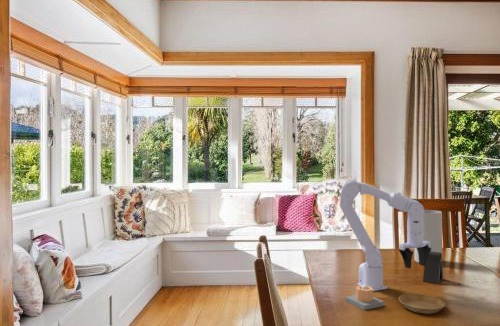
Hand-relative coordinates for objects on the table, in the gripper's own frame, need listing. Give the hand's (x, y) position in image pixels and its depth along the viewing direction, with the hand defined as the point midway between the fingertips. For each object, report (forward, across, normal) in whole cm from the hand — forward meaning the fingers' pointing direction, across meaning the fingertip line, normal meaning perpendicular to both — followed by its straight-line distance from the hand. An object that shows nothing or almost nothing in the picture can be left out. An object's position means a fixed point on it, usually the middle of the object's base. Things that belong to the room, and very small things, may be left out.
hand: (415, 266), depth 158 cm
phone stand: (+10, +17, +6) cm, 20 cm away
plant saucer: (+10, -12, -14) cm, 21 cm away
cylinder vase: (+10, +39, +28) cm, 49 cm away
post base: (+9, -27, -2) cm, 29 cm away
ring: (+8, -27, -2) cm, 28 cm away
